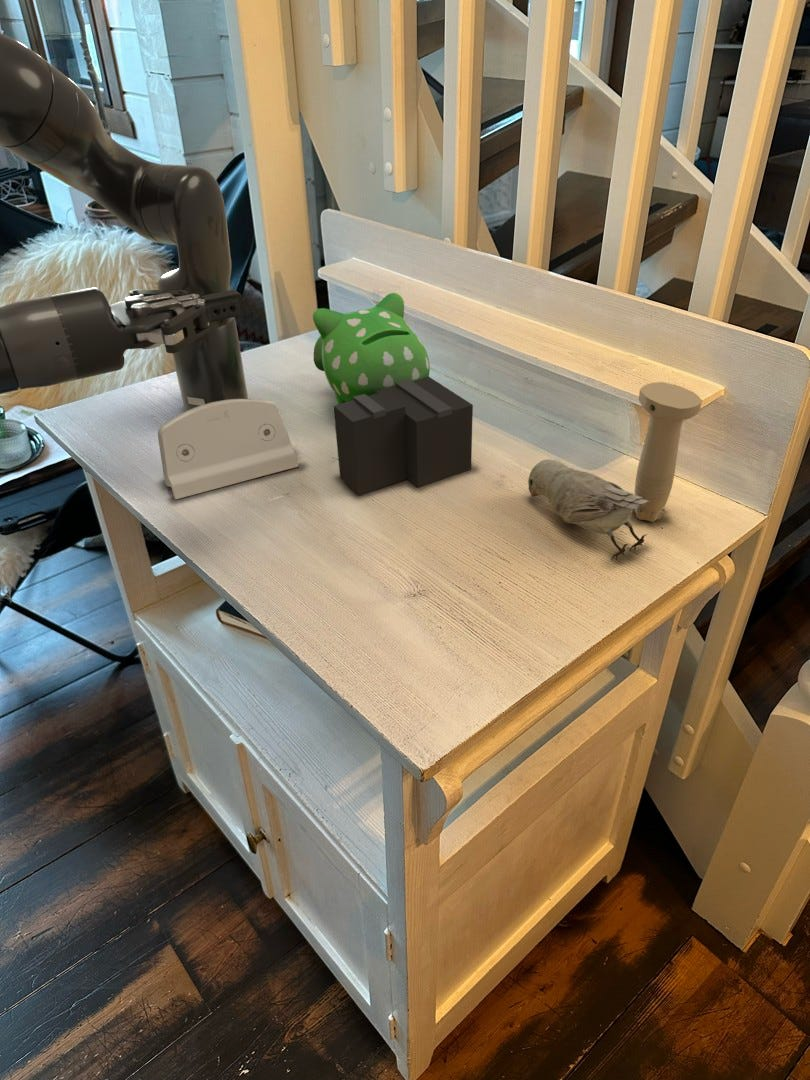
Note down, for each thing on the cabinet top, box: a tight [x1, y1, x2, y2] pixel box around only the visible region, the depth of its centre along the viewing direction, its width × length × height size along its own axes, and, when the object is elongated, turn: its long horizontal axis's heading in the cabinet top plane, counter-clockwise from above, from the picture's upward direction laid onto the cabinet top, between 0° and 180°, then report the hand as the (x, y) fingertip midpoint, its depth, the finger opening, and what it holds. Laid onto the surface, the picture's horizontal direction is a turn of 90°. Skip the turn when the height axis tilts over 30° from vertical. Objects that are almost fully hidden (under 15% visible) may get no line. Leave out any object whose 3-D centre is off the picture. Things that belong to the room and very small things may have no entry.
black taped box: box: [375, 376, 474, 488], centre depth 95 cm, size 10×8×9 cm
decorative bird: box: [527, 459, 649, 562], centre depth 83 cm, size 5×16×8 cm, turn 34°
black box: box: [333, 392, 408, 496], centre depth 92 cm, size 5×7×10 cm
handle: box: [633, 381, 703, 523], centre depth 82 cm, size 5×6×15 cm
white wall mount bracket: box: [157, 398, 299, 500], centre depth 96 cm, size 17×5×10 cm, turn 117°
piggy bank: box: [312, 292, 431, 405], centre depth 107 cm, size 14×18×15 cm
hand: (240, 301), depth 75 cm, fingers closed
